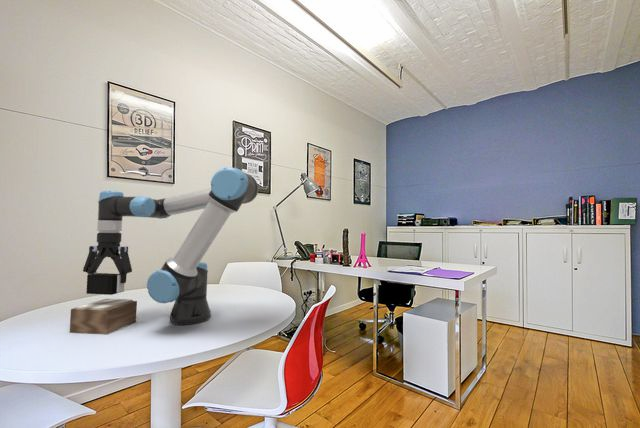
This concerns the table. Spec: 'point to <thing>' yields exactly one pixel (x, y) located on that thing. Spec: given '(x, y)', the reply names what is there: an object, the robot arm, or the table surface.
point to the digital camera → (102, 283)
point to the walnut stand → (103, 316)
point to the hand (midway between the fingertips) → (106, 291)
